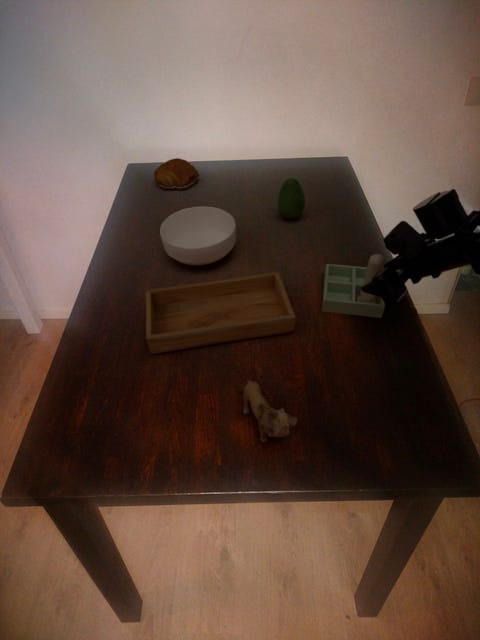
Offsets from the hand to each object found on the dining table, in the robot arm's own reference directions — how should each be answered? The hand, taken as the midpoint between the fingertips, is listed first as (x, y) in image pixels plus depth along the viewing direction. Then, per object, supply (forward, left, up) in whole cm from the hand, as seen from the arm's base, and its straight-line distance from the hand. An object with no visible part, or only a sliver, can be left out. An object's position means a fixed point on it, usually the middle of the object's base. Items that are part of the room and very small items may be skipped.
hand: (373, 278), depth 82 cm
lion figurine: (+18, +33, -8) cm, 38 cm away
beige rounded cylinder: (0, 0, -7) cm, 7 cm away
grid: (+3, -3, -8) cm, 9 cm away
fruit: (+21, -35, -8) cm, 42 cm away
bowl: (+43, -14, -8) cm, 46 cm away
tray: (+32, +10, -8) cm, 35 cm away
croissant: (+63, -53, -8) cm, 82 cm away
